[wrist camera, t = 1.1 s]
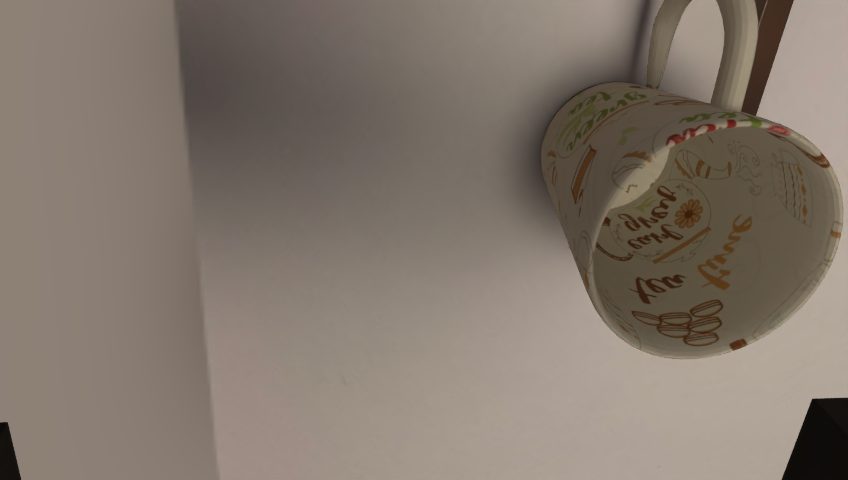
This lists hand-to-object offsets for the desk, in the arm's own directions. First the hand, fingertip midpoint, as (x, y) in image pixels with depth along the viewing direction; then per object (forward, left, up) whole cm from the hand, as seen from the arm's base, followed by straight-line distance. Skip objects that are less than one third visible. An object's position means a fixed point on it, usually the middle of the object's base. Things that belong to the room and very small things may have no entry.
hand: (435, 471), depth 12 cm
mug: (-2, +10, -20) cm, 23 cm away
